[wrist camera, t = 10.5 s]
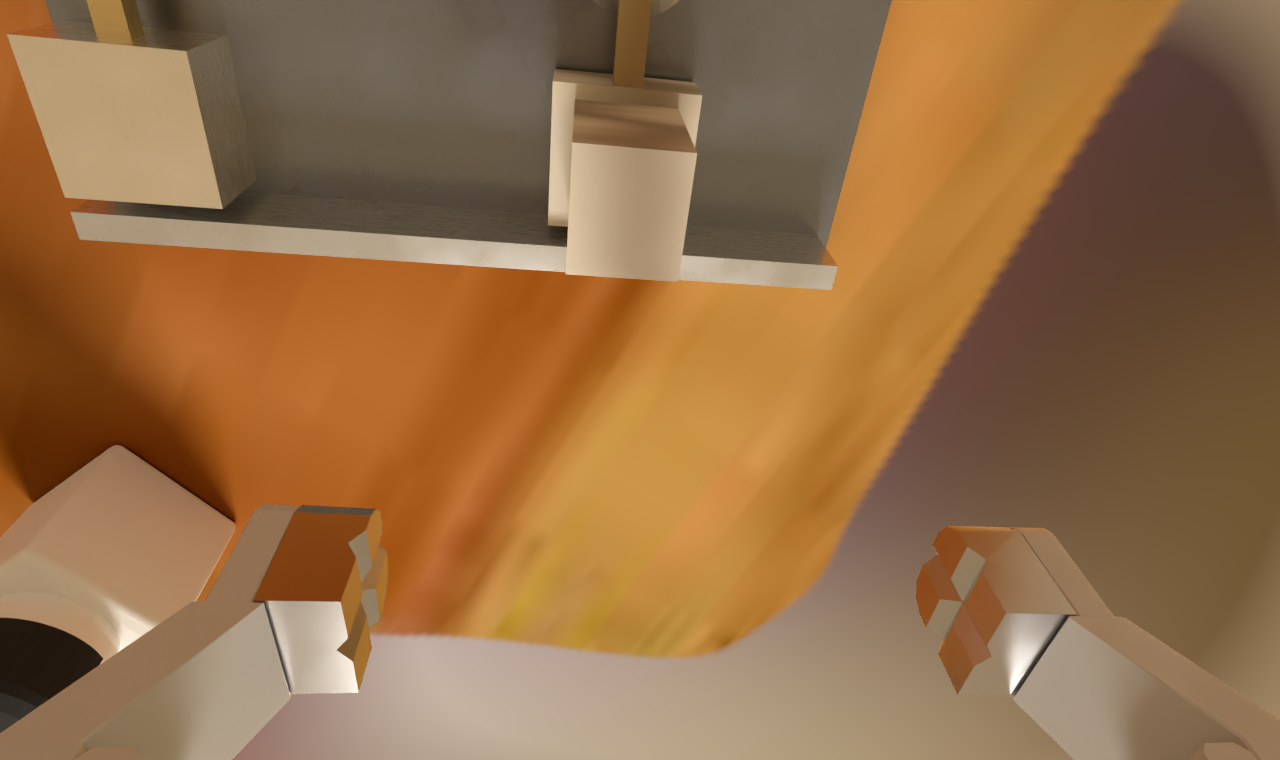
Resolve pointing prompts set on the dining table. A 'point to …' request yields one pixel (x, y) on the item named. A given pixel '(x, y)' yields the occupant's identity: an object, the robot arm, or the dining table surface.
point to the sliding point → (623, 161)
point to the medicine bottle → (97, 573)
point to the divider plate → (437, 124)
